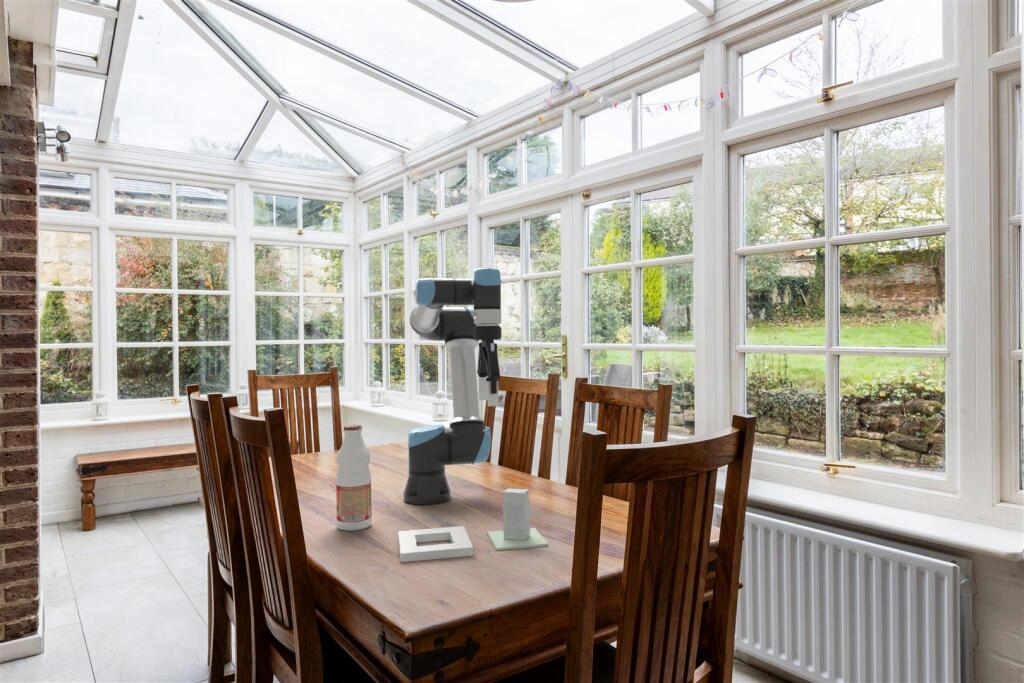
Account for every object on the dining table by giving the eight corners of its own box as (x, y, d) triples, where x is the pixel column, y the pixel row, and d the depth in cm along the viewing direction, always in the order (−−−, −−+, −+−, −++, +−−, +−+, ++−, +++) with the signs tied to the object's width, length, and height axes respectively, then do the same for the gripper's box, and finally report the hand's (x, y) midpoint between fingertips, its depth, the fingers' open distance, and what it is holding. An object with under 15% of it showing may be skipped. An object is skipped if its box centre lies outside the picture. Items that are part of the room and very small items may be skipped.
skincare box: (530, 535, 158) (529, 489, 158) (525, 540, 154) (525, 493, 154) (507, 533, 160) (507, 487, 160) (502, 538, 156) (502, 491, 156)
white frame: (398, 539, 159) (398, 531, 159) (463, 533, 162) (463, 526, 162) (400, 562, 142) (400, 553, 142) (473, 555, 146) (473, 547, 146)
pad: (487, 534, 162) (487, 531, 162) (535, 530, 164) (535, 527, 164) (496, 550, 149) (496, 548, 149) (548, 545, 152) (548, 543, 152)
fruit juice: (352, 533, 164) (350, 428, 164) (329, 527, 169) (328, 426, 169) (378, 524, 171) (377, 424, 171) (356, 519, 177) (354, 422, 177)
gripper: (466, 325, 179) (467, 398, 179) (481, 325, 154) (482, 409, 155) (492, 325, 180) (493, 397, 181) (510, 324, 156) (511, 408, 156)
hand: (488, 403), depth 168 cm, fingers open, 13 cm apart
